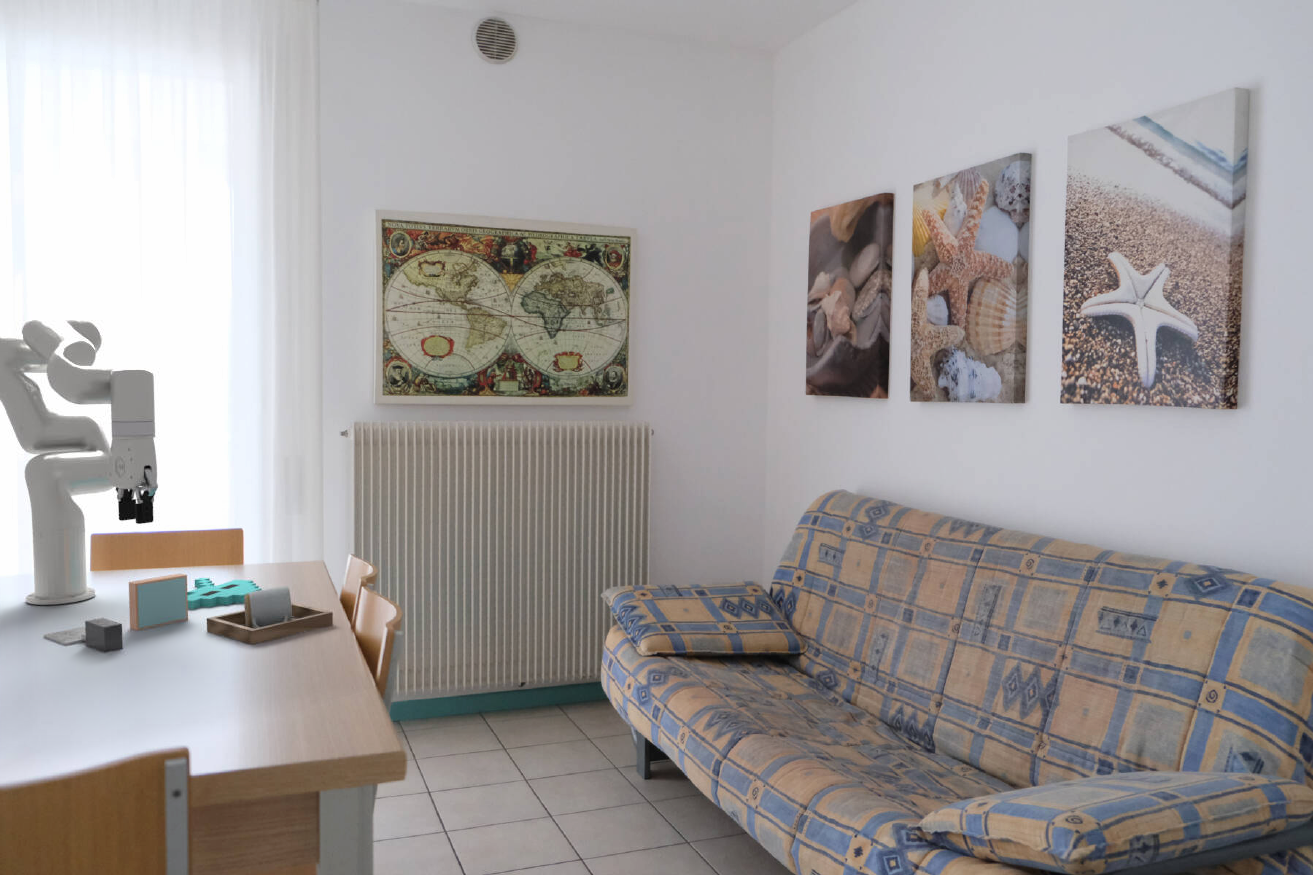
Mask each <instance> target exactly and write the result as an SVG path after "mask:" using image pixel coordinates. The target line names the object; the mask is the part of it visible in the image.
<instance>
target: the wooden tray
mask: <svg viewBox="0 0 1313 875" xmlns="http://www.w3.org/2000/svg"><path fill="white" fill-rule="evenodd" d="M291 606H292V616H293V617H292V618H294V619H292V620H290V621H286V622H282V623H277V624H273V625H269V626H264V627H260V628H256V629H253V628H249V627H247V626H245V625H246V619H245V609H244V610H240V611H235V612H230V613H225V614H220V615H215V616H212V617H206V631H207V632H208V633H212V634H215V635H219V636H222V637H224V638H229V639H231V640H235V639H236V640H235V641H238V640H239V642H242V643H245V642H247V643H246V644H249V645H257V644H260V643H259V642H261V643H265V642H268V641H273V640H277V639H281V638H284V637H285V638H286V637H289V636H293V634H294V635H297V634H301V632H302V633H304V631H306V632H309V631H313V629H314V630H318V629H321V628H325V627H330V626H333V625H334V621H333V620H334V619H333V616H334V614H333V612H332V611H328V610H325V609H320V608H317V607H316V608H315V607H312V606H308V605H304V604H299V603H296V602H292V601H291ZM243 624H244V625H243Z"/></svg>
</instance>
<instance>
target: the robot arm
mask: <svg viewBox="0 0 1313 875" xmlns="http://www.w3.org/2000/svg"><path fill="white" fill-rule="evenodd" d="M102 336H103V335H102V332H101V330H100V327H99V326H98V325H97V323H95V322H94V321H93V320H92V319H90V318H87V317H83V316H72V315H71V316H69V315H54V314H53V315H51V314H50V315H49V314H43V315H36V316H34V317H32V318H30V319H28V320H27V321H26V322H24V324H23V327H22V329H21V333H4V334H0V403H1V404H2V405H3V407H4V409H5V413H6V416H7V417H8V420H9V422H10V424H11V427H12V429H13V433H14V435H15V436H16V438H17V441H18V443H19V445H20V447H21V448H22V449H23V450H24V451H25V452H26V453H28V454H31V455H36V456H34V457H32V458H31V459H29V460H28V462H27V463H26V465H25V468H24V478H25V483H26V488H27V492H28V496H29V502H30V508H31V509H30V510H31V526H32V527H31V528H32V529H31V530H32V547H33V548H32V549H33V550H32V551H33V552H32V553H33V554H32V555H33V581H34V582H33V584H34V591H33V592H32V593H29V594H28V595H26V598H25V599H26V600H25V602H26V603H27V604H31V605H37V606H38V605H39V606H47V605H48V606H50V605H52V606H53V605H63V604H64V605H65V604H72V603H77V602H81V601H85V600H89V599H91V598H93V597H95V596H96V590H95V588H91V587H87V586H88V585H87V559H86V558H87V556H86V555H87V554H86V552H87V551H86V526H85V524H86V523H85V514H84V513H83V511H82V509H81V508H80V506H79V505H78V504H77V502H75V500H74V499H73V497H74V496H81V495H87V494H98V493H104V492H108V491H110V490H112V489H114V488H115V491H116V493H117V495H116V499H117V501H118V502H117V503H118V505H117V506H118V508H117V509H118V520H119V521H122V522H123V521H131V520H135V524H137V525H138V524H139V525H141V524H148V523H149V524H150V523H153V522H154V502H155V495H156V491H157V490H158V488H159V484H158V467H157V466H158V464H157V454H156V446H155V441H154V440H155V439H154V438H156V419H155V417H156V416H155V415H156V414H155V378H154V373H153V371H152V370H150V369H149V368H145V367H127V366H104V365H103V366H101V365H98V366H97V365H95V366H93V365H94V364H95V361H96V354H97V353H98V351H99V350H100V348H101V345H102V341H103V338H102ZM25 373H27V374H28V373H30V374H31V373H33V374H35V373H36V374H37V373H39V374H41V373H43V374H44V373H45V374H46V376H47V380H48V383H49V386H50V388H51V389H52V390H53V391H54V392H55V393H57V394H58V395H59V397H61V398H62V399H64V400H65V401H67V402H69V403H71V404H76V405H110V413H111V414H110V418H111V422H110V424H111V445H110V443H109V441H108V439H107V437H106V435H105V434H106V433H105V432H104V430H103V428H102V425H101V424H100V422H99V420H98V419H97V418H96V416H94V415H93V414H92V413H90V412H89V411H86V410H82V409H81V410H79V409H65V410H64V409H63V410H61V409H57V408H55V407H54V405H53V404H52V401H51V398H50V396H49V395H48V392H47V391H46V390H45V389H44V388H43V387H42V386H41V385H40V384H39V383H38V382H36V381H35V380H33V379H32V378H31V377H28V376H27V375H26V374H25ZM142 492H143V493H142ZM72 496H73V497H72Z"/></svg>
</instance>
